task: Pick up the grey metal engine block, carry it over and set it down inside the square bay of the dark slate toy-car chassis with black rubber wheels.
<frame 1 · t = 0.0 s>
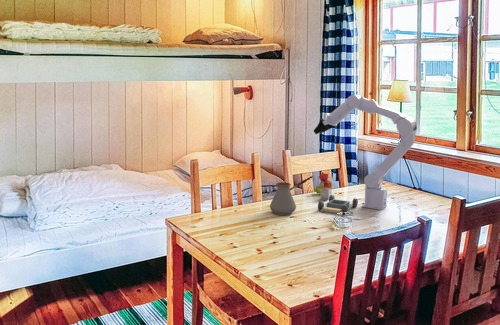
hand: (318, 131, 238), 32 cm above the table, tool tilted 50°, fingers open, 7 cm apart
coffee pot: (292, 211, 222), on the table
engine block: (325, 199, 243), on the table
chassis: (338, 208, 226), on the table
bird rattle: (323, 194, 253), on the table
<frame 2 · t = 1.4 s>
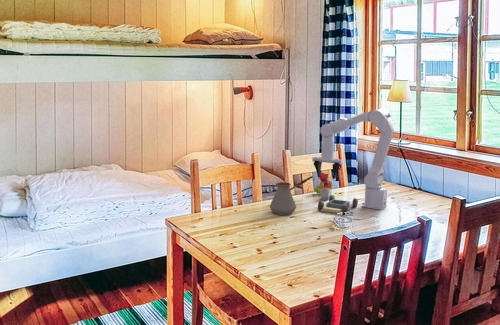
hand: (326, 177, 241), 11 cm above the table, tool pointing down, fingers open, 7 cm apart
nothing on the table moved.
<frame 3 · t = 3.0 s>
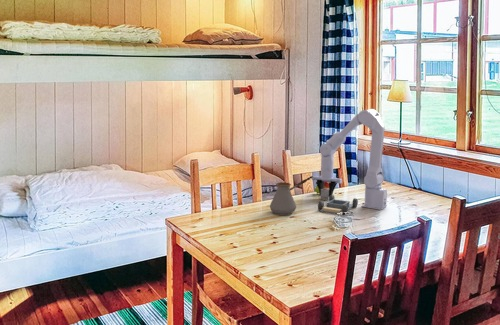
hand: (326, 196, 243), 1 cm above the table, tool pointing down, fingers closed on engine block, 4 cm apart
engine block: (326, 199, 243), on the table, touching gripper
everything else where it was.
when the fingers open (4 cm above the table, at t = 6.6 s): engine block drops 2 cm, resting on chassis.
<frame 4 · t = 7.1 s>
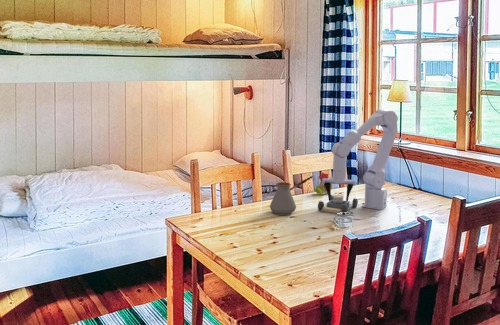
hand: (338, 199, 226), 4 cm above the table, tool pointing down, fingers open, 7 cm apart
engine block: (338, 207, 226), point 1 cm above the table, touching chassis
everything else where it was.
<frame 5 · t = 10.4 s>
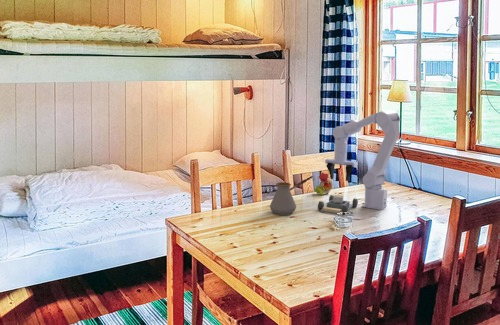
hand: (339, 179, 242), 9 cm above the table, tool pointing down, fingers open, 7 cm apart
nothing on the table moved.
at the end: engine block 0.1 cm off-centre on the chassis, point 0.6 cm above the chassis's base; engine block tilted 0°; the gripper is holding nothing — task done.
